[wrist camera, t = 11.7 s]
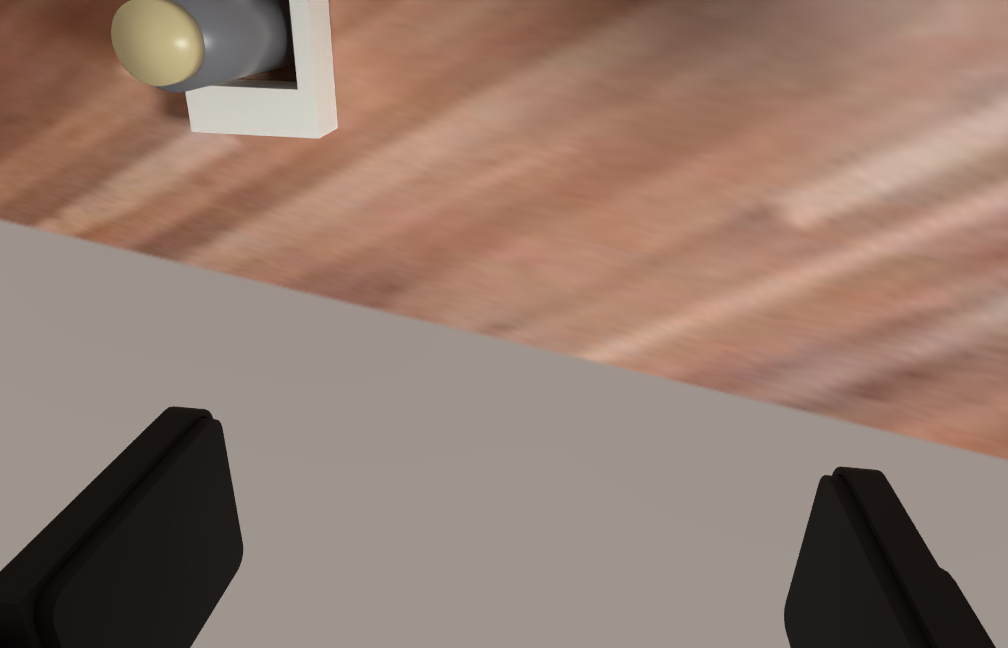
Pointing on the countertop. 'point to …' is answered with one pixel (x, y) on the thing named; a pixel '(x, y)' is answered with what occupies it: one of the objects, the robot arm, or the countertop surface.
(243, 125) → the socket strip
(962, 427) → the countertop surface
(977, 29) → the countertop surface
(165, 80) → the plug
